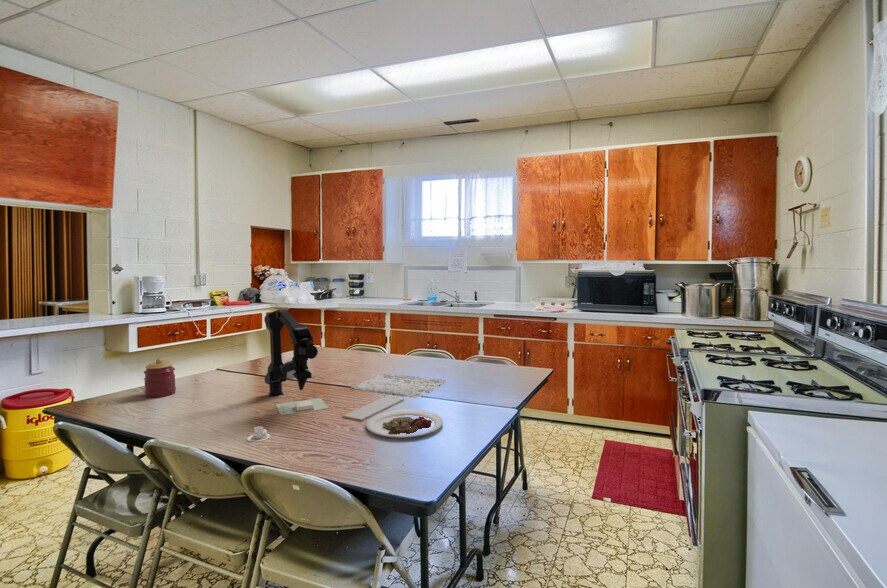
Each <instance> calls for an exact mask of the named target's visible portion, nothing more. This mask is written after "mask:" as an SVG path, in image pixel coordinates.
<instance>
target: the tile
mask: <svg viewBox="0 0 887 588" xmlns="http://www.w3.org/2000/svg"><path fill="white" fill-rule="evenodd" d="M309 400H310V399H309ZM302 401H303V400H302ZM294 402H295V403H294V406H295V409H296V411H297V412H299V411H306V410H313V409H314V404H313V403H312V401H311V400H310V401H303V402H296V401H294ZM313 411H314V410H313ZM306 412H307V411H306Z"/></svg>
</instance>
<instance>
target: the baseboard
mask: <svg viewBox="0 0 887 588" xmlns="http://www.w3.org/2000/svg"><path fill="white" fill-rule="evenodd" d="M395 396H396V397H395ZM399 396H400V397H398V396H397V395H396V394H391V396H390V395H387V396H386V395H385V394H384V395H383V397H382V398H380V399H377V400H375V401H372V402H371V403H368V404H366V405H364V406H362V407H359V408H357V409H355V410H353V411H350V412H349V413H346V414H344V415H342V416H341V418H344V419H347V420H348V419H349V420H353V421H359V422H363V421H365V420H368V419H369V418H371V417H372V416H374V415H377V414H380V413H383V411H384V412H385V411H386V410H388V409H390V408H391V407H394V406H396V405H398V404H401V403H402V402H404V401H405V398H404V397H402V396H401V395H399Z"/></svg>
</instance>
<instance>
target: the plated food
mask: <svg viewBox="0 0 887 588" xmlns="http://www.w3.org/2000/svg"><path fill="white" fill-rule="evenodd" d="M405 415H413V416H419V418H416V419H412V418H411V417H404V416H405ZM402 416H403V417H402ZM420 416H422V417H420ZM424 417H426V418H429V419H431V420H432V421H434V423H435V425H434V427H433V428H432V429H431V430H429V431H427V432H424V433H420V434H415V435H407V434H410V433H414V432H416V431H417V430H418V429H422V428H429V427H431V423H432V421H431V420H427V419H425V418H424ZM443 424H444V420H443V419H442V417H441V416H440V415H438V414H436V413H434V412H431V411H426V410H421V409H410V408H409V409H408V408H407V409H404V408H403V409H394V410H387V411H384V412H383V411H382V412H380V413H378V414H376V415H374V416H372V417H369V418H367V419H366V422H365V428H366V429H367V430H368V431H369V432H370V433H373V434H374V435H375V434H376V435H378V436H381V437H387V438H402V439H403V438H405V439H406V438H414V437H420V436H421V437H422V436H425V435H429V434H431V433H434V432H436V431H438V430H439V429H440V428H442V427H443ZM410 427H411V428H410ZM400 433H406V435H407V436H403V435H400ZM397 434H398V435H397Z"/></svg>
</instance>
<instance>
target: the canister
mask: <svg viewBox="0 0 887 588" xmlns="http://www.w3.org/2000/svg"><path fill="white" fill-rule="evenodd" d="M173 365H174V364H173V362H172V363H171V362H170V361H166V360H163V359H162V358H157V359H155V361H154V362H150V363H149V364H147V365H145V370H144V371H143V374H144V378H143V380H144V395H145V397H146V398H151V399H152V398H162V397H167V396H171V395H174V394H175V393H176V390H177V387H176V374H175V370H176V368H175V367H173Z"/></svg>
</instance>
